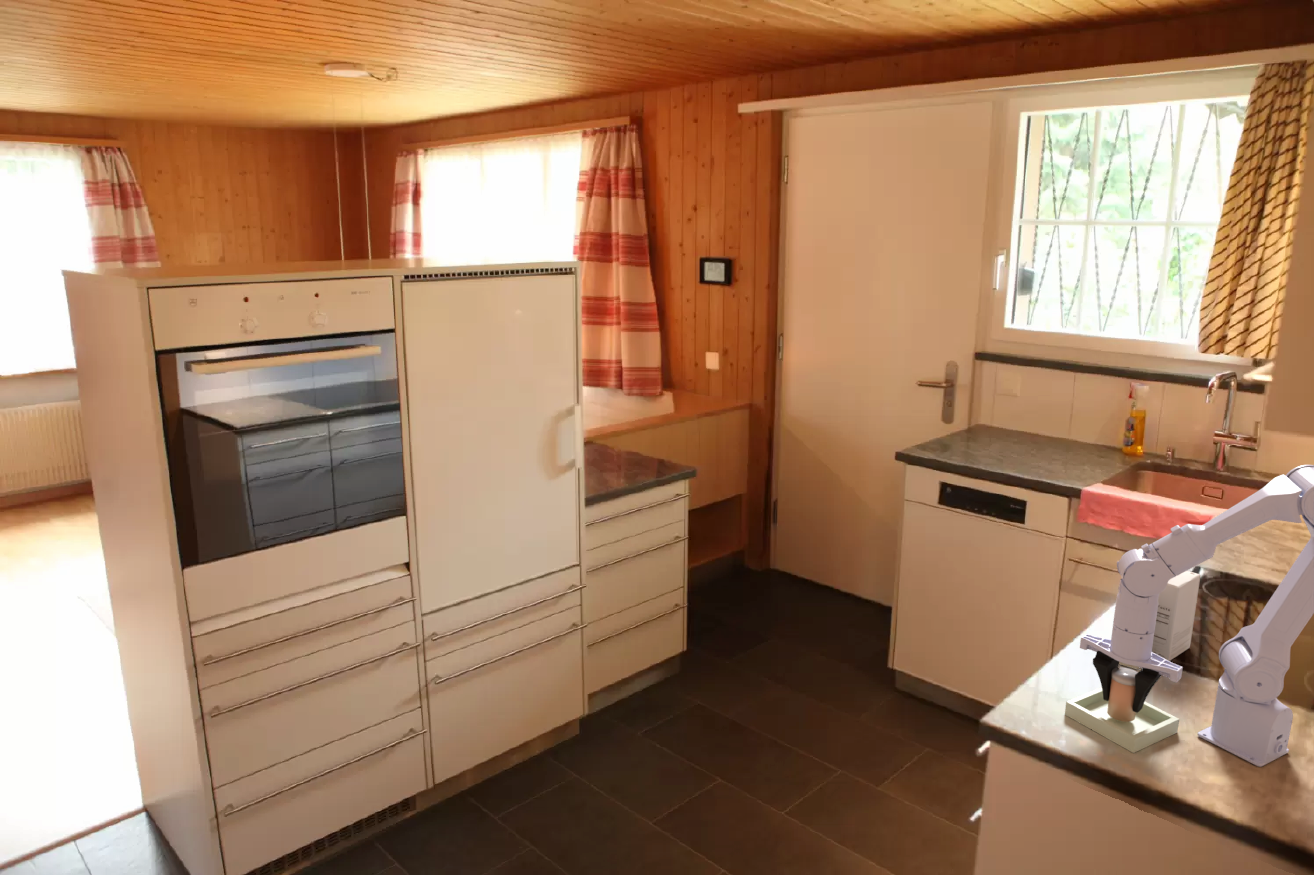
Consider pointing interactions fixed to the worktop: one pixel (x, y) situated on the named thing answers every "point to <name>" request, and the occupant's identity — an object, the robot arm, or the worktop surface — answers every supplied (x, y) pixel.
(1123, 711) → the shaker
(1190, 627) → the supplement box
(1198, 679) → the worktop surface
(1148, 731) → the tray
